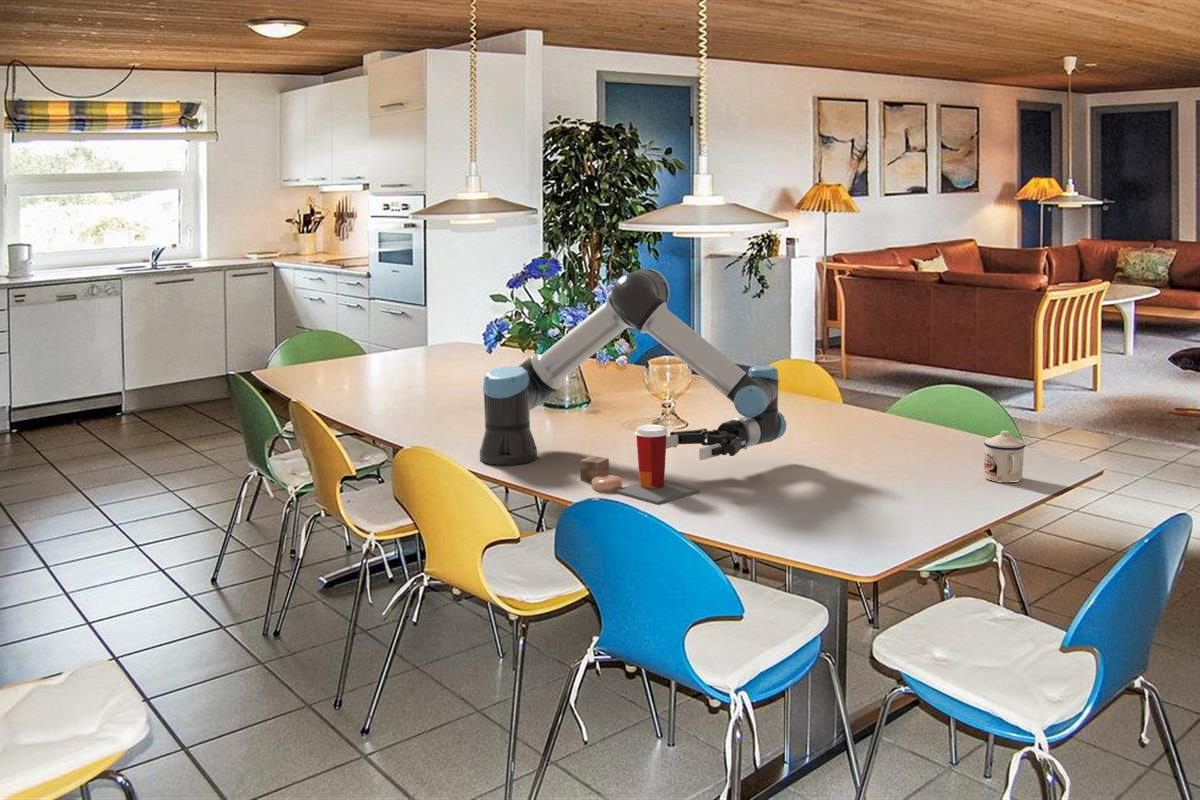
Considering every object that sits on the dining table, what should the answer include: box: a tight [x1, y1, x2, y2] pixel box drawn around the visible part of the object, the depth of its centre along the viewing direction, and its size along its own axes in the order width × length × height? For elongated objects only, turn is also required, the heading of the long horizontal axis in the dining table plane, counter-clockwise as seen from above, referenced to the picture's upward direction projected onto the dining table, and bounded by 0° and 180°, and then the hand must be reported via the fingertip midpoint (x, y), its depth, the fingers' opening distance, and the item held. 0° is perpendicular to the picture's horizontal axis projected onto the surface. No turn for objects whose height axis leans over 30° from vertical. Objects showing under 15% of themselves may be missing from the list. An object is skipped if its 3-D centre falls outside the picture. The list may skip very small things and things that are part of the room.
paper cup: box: [634, 424, 669, 489], centre depth 263 cm, size 8×8×14 cm
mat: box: [614, 479, 700, 505], centre depth 262 cm, size 14×14×1 cm
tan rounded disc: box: [591, 474, 623, 493], centre depth 266 cm, size 7×7×2 cm
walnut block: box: [579, 455, 610, 483], centre depth 273 cm, size 5×5×5 cm
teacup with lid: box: [983, 430, 1026, 482], centre depth 265 cm, size 12×9×12 cm
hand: (678, 449), depth 264 cm, fingers open, 13 cm apart
